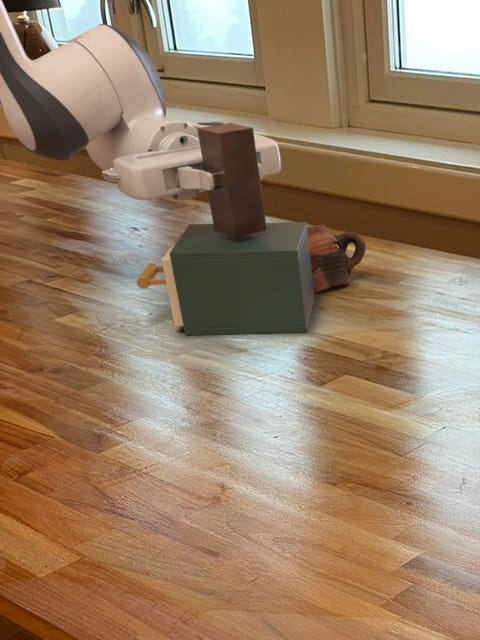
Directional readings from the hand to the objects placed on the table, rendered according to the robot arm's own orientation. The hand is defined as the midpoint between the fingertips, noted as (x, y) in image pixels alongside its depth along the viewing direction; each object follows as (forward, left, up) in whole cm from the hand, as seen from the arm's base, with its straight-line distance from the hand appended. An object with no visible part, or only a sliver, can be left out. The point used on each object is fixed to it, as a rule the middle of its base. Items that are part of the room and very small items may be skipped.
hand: (237, 177), depth 111 cm
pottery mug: (+14, +9, -16) cm, 23 cm away
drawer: (-4, +3, -15) cm, 16 cm away
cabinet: (0, +1, -16) cm, 16 cm away
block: (0, +1, -6) cm, 6 cm away
